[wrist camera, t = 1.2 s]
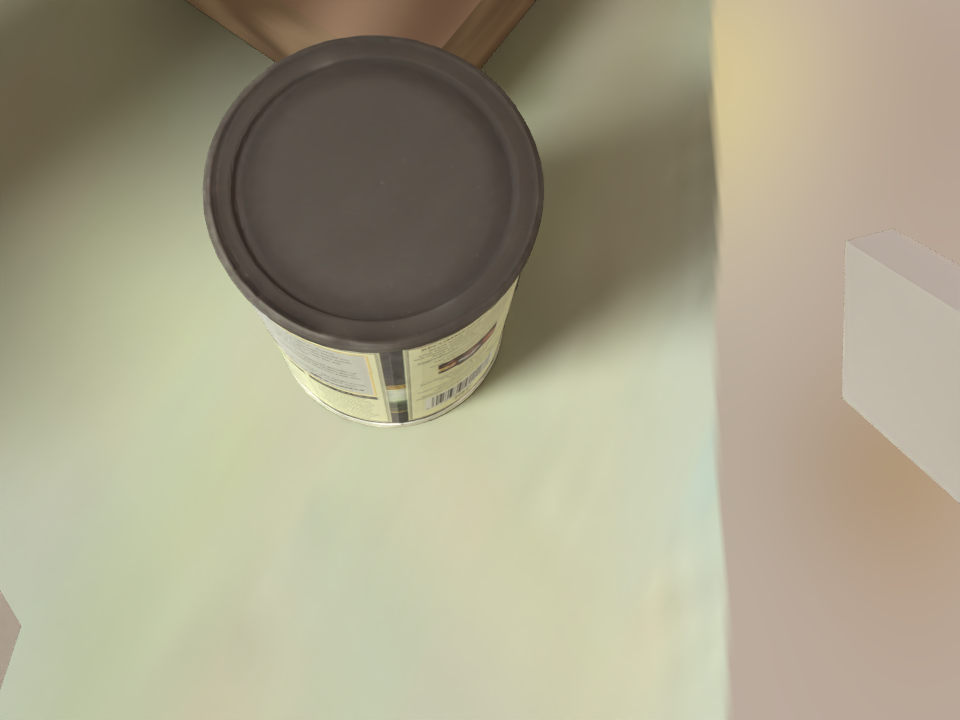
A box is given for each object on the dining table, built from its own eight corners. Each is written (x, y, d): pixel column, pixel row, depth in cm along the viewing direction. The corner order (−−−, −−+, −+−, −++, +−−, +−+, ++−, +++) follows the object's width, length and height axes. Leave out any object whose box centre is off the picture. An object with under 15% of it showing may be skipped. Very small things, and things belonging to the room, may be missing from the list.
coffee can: (339, 176, 43) (302, -18, 29) (539, 268, 42) (596, 115, 29) (232, 368, 40) (135, 255, 26) (443, 468, 40) (456, 406, 26)
